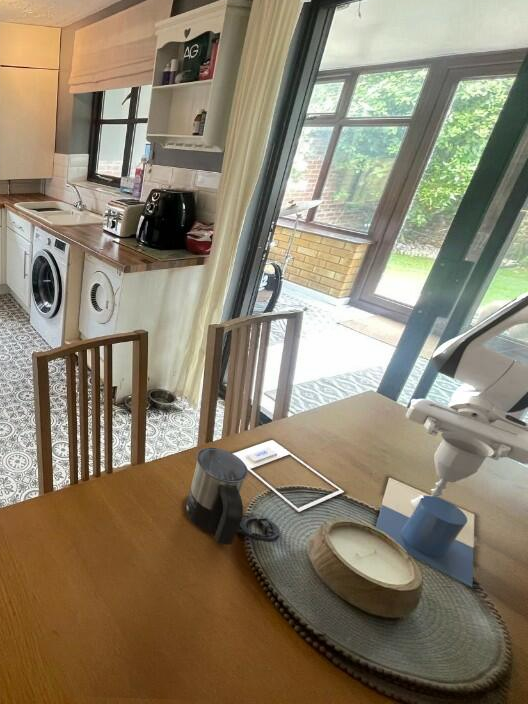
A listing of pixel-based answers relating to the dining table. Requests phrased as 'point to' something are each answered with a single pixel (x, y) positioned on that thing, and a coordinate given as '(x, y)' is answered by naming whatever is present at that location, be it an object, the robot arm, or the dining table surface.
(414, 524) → the short blue cylinder
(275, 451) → the photo frame
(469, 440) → the chalice
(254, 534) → the milk frother
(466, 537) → the board
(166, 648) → the dining table surface
